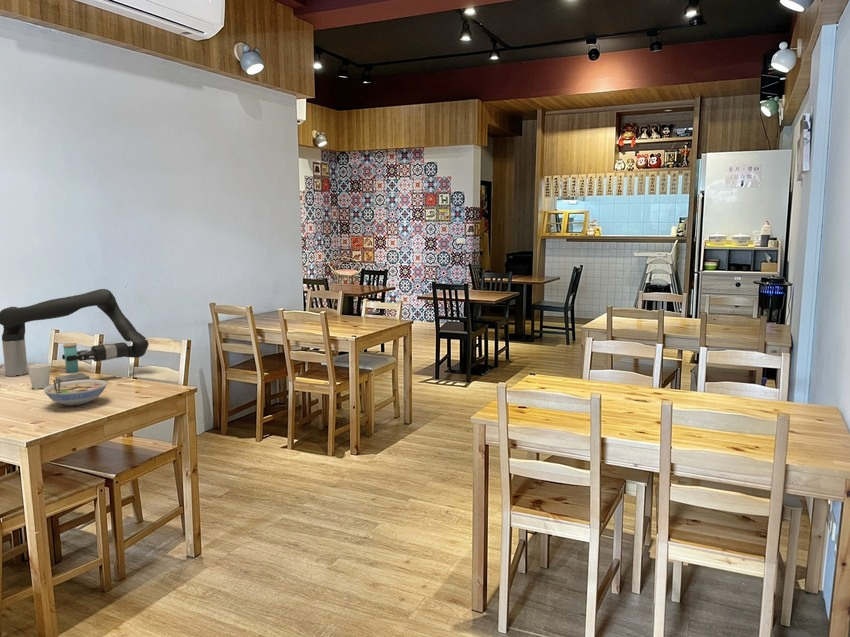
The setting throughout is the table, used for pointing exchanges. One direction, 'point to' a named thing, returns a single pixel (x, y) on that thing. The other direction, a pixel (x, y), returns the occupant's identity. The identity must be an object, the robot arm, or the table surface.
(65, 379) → the slate plinth
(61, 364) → the table surface
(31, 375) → the white cup
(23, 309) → the robot arm
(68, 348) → the tea canister
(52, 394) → the ramen bowl
